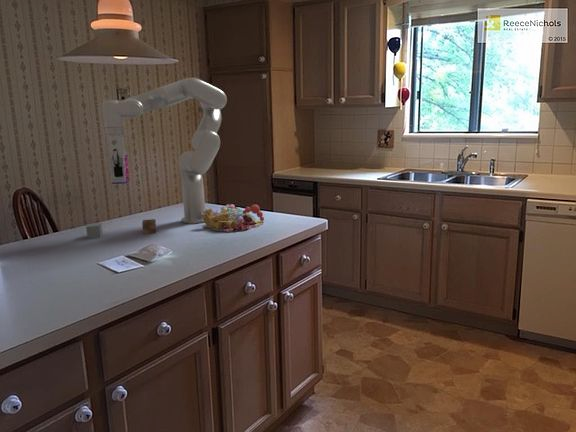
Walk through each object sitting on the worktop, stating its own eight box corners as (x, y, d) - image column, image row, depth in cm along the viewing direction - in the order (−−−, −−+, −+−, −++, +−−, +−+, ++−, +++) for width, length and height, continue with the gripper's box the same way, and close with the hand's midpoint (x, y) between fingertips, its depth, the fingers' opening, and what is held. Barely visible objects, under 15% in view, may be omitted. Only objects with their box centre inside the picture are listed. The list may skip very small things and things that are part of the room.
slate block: (102, 234, 204) (101, 223, 203) (100, 237, 199) (98, 225, 198) (90, 235, 203) (88, 223, 202) (87, 238, 198) (86, 226, 197)
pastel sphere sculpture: (236, 235, 196) (235, 213, 194) (193, 229, 208) (191, 208, 206) (271, 222, 216) (270, 202, 214) (229, 217, 229) (228, 198, 227)
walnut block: (156, 230, 208) (155, 219, 207) (155, 233, 203) (154, 221, 202) (144, 231, 207) (143, 220, 206) (143, 234, 202) (142, 222, 201)
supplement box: (125, 183, 198) (122, 155, 196) (111, 184, 198) (107, 156, 196) (130, 181, 204) (127, 154, 201) (116, 181, 204) (113, 154, 201)
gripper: (121, 132, 189) (126, 177, 193) (127, 130, 205) (132, 172, 209) (101, 133, 187) (107, 179, 192) (109, 130, 204) (114, 173, 208)
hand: (120, 175), depth 200 cm, fingers closed on supplement box, 6 cm apart
